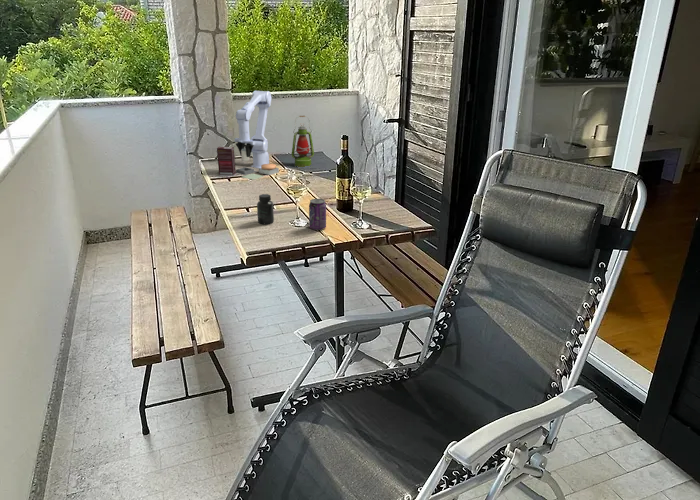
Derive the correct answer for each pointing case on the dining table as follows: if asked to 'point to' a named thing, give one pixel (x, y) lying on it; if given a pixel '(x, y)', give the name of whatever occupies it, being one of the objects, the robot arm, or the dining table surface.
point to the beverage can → (317, 214)
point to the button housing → (268, 171)
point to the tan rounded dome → (268, 166)
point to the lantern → (302, 146)
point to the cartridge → (244, 155)
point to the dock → (245, 171)
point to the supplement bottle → (265, 210)
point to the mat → (252, 176)
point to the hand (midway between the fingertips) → (245, 156)
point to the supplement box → (226, 161)
